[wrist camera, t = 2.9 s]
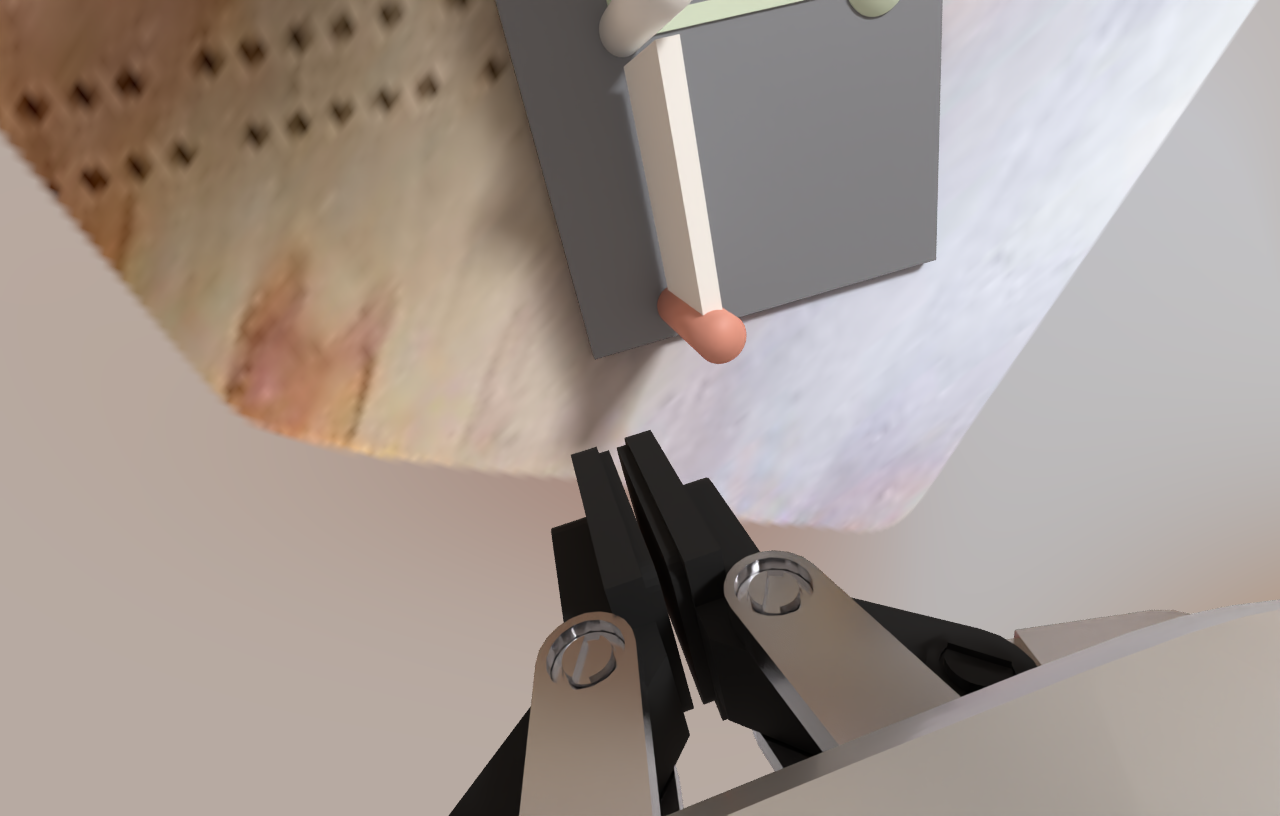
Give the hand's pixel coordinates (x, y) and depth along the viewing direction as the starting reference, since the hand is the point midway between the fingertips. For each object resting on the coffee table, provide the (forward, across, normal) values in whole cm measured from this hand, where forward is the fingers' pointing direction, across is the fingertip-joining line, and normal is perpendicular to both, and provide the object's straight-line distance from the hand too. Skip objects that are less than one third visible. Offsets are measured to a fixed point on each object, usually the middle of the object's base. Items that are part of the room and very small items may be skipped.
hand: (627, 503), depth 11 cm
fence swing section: (+16, -6, -4) cm, 17 cm away
